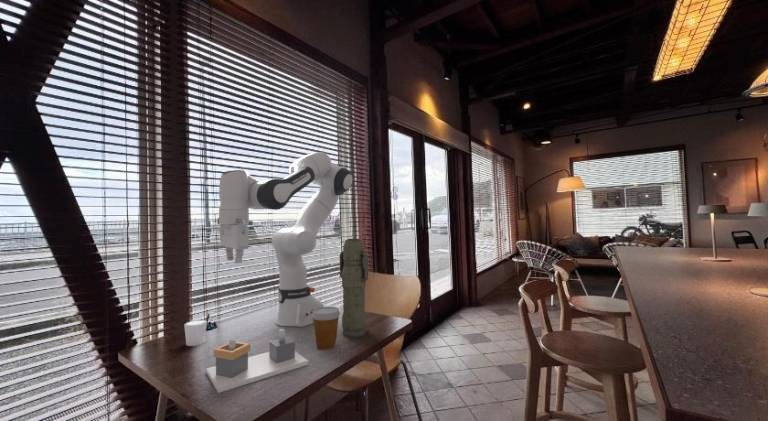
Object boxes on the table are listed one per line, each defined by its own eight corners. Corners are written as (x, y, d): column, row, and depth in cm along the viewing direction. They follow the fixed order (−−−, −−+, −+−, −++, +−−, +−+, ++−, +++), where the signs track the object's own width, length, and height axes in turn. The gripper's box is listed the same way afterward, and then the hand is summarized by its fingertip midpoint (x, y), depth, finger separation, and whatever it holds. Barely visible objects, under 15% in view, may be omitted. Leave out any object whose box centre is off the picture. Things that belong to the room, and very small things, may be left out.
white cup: (196, 347, 111) (196, 326, 111) (179, 345, 112) (179, 325, 112) (211, 339, 117) (211, 320, 118) (194, 338, 119) (194, 319, 119)
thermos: (346, 327, 128) (345, 238, 129) (373, 331, 124) (372, 238, 125) (334, 335, 120) (333, 239, 121) (363, 339, 116) (362, 240, 117)
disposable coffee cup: (329, 338, 117) (329, 304, 117) (346, 346, 110) (345, 309, 110) (306, 346, 110) (305, 310, 110) (322, 354, 103) (321, 316, 104)
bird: (190, 325, 127) (207, 310, 132) (194, 334, 132) (210, 319, 137) (206, 337, 125) (222, 321, 130) (209, 344, 130) (225, 329, 135)
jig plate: (288, 350, 107) (288, 319, 107) (308, 364, 96) (307, 330, 96) (206, 372, 92) (206, 336, 92) (218, 392, 81) (218, 351, 81)
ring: (232, 348, 94) (232, 341, 94) (250, 350, 92) (250, 343, 92) (213, 356, 88) (213, 349, 88) (232, 360, 86) (232, 352, 86)
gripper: (254, 218, 101) (254, 263, 101) (235, 219, 117) (235, 258, 116) (232, 218, 97) (232, 265, 97) (216, 219, 113) (216, 259, 112)
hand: (234, 261), depth 107 cm, fingers open, 8 cm apart
